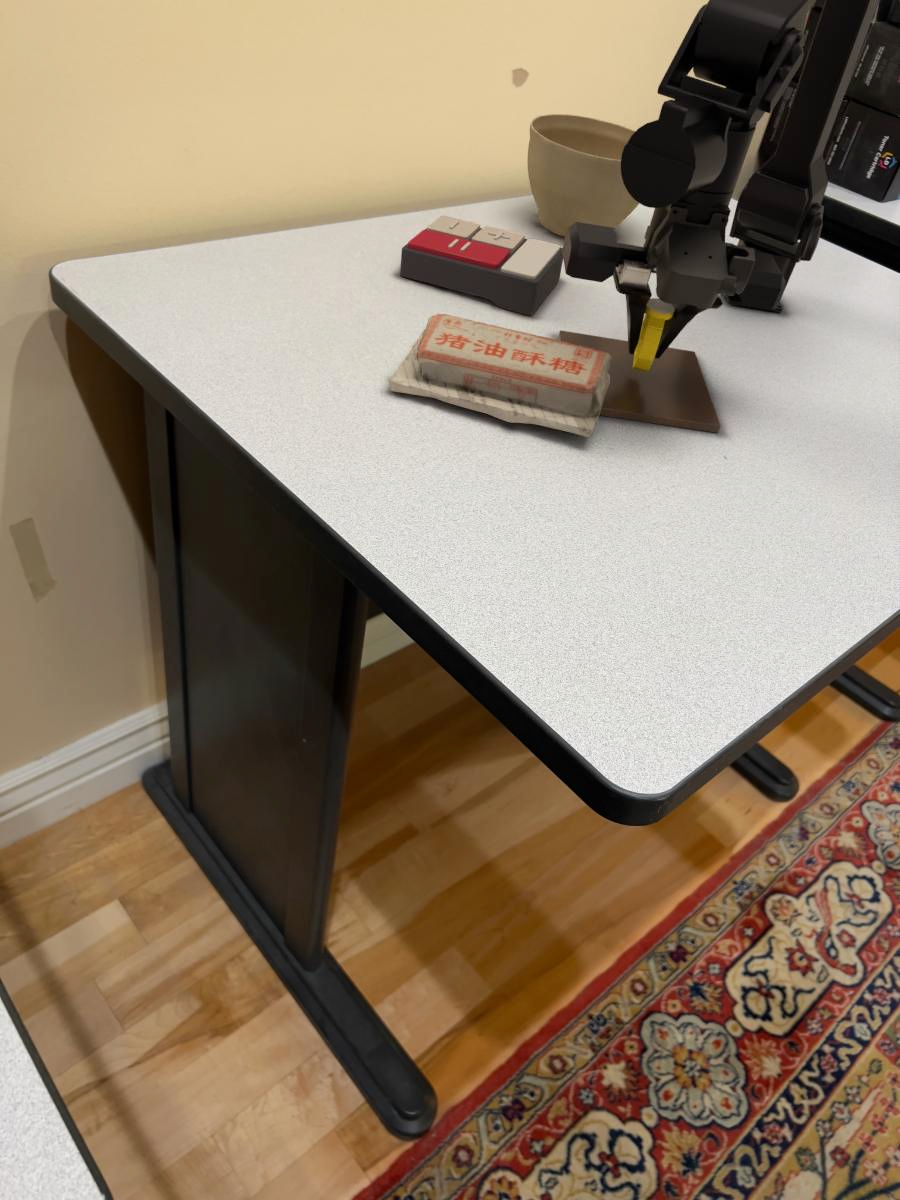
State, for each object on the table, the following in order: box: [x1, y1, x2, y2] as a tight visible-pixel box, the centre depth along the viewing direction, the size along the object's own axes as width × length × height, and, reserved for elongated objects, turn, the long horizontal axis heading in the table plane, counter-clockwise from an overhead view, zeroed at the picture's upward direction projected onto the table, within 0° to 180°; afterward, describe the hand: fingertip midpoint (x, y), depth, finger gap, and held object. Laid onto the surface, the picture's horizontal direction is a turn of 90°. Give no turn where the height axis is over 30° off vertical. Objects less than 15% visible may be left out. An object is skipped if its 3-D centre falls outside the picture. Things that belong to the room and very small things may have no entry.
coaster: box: [557, 330, 722, 434], centre depth 84 cm, size 14×14×1 cm
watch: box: [633, 297, 675, 372], centre depth 81 cm, size 6×3×6 cm, turn 169°
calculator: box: [399, 214, 564, 316], centre depth 95 cm, size 11×4×15 cm
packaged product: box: [389, 313, 612, 439], centre depth 77 cm, size 18×5×10 cm
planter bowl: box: [527, 113, 640, 238], centre depth 109 cm, size 16×16×11 cm
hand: (643, 354), depth 83 cm, fingers closed on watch, 2 cm apart
